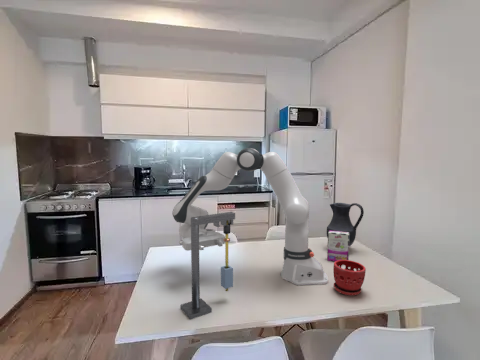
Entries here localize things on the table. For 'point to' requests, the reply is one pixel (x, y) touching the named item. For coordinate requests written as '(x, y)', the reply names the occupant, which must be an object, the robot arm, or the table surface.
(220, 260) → the table surface
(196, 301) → the grey gallows stand
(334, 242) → the candy bar box
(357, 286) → the plant pot
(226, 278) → the sleeve
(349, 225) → the pitcher
